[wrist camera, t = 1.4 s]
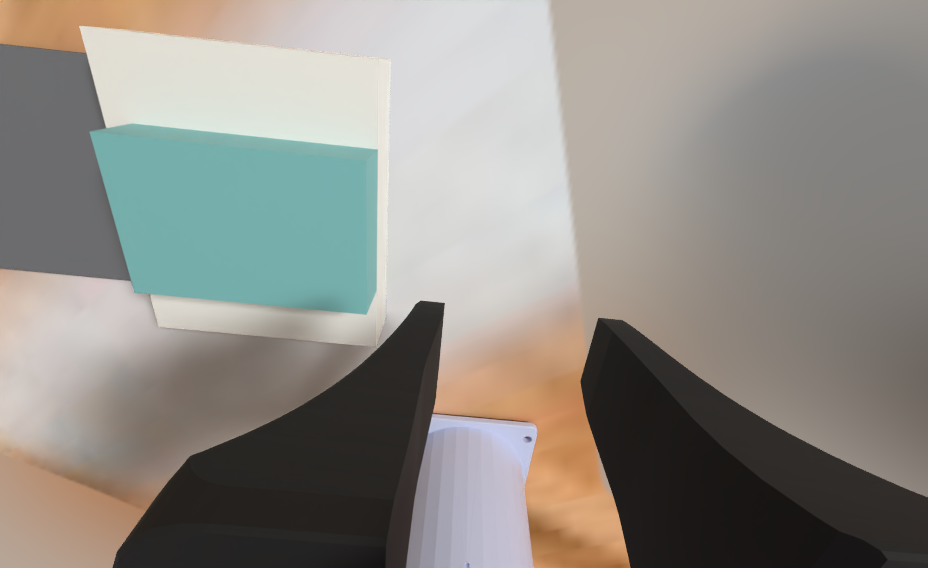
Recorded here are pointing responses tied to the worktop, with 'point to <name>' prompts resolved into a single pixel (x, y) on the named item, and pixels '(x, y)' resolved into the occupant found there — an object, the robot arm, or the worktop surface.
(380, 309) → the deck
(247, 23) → the worktop surface
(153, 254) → the teal rectangular block
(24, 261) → the mat
